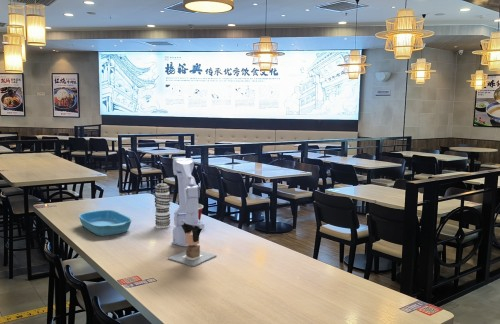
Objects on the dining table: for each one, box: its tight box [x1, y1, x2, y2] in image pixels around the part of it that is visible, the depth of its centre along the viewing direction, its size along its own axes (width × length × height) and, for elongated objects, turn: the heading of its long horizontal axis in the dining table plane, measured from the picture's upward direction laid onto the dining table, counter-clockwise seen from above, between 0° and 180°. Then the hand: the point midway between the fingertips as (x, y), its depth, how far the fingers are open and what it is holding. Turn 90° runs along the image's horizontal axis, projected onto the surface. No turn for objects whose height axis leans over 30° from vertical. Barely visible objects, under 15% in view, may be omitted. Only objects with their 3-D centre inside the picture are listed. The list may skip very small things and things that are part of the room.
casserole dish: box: [78, 209, 133, 237], centre depth 243 cm, size 37×22×7 cm, turn 42°
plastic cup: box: [193, 203, 204, 227], centre depth 251 cm, size 11×11×12 cm
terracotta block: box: [185, 231, 200, 246], centre depth 197 cm, size 4×4×5 cm
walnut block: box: [185, 244, 201, 258], centre depth 198 cm, size 4×4×5 cm
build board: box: [167, 250, 217, 268], centre depth 198 cm, size 16×16×1 cm
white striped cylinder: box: [154, 182, 171, 229], centre depth 248 cm, size 9×9×25 cm
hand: (192, 240), depth 197 cm, fingers closed on terracotta block, 4 cm apart
